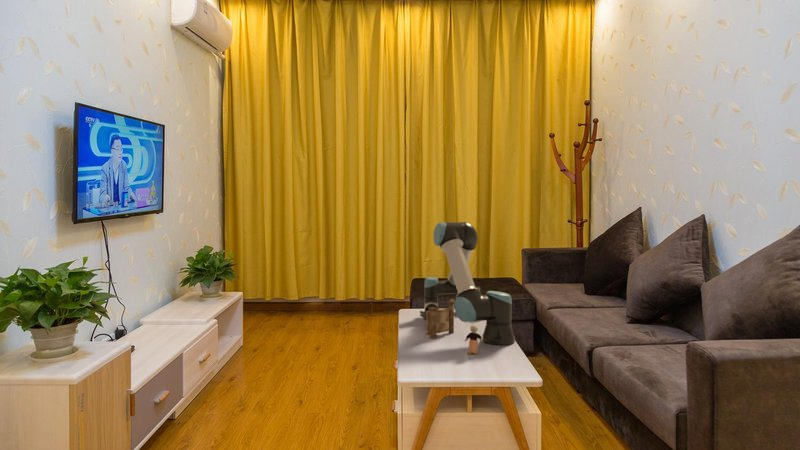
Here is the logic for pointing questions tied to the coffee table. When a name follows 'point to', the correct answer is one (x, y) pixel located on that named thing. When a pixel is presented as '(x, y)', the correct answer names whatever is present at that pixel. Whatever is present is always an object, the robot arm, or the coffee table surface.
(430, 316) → the latch post
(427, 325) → the gate
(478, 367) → the coffee table surface
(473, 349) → the grandmother figurine
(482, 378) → the coffee table surface
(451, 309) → the hinge post
